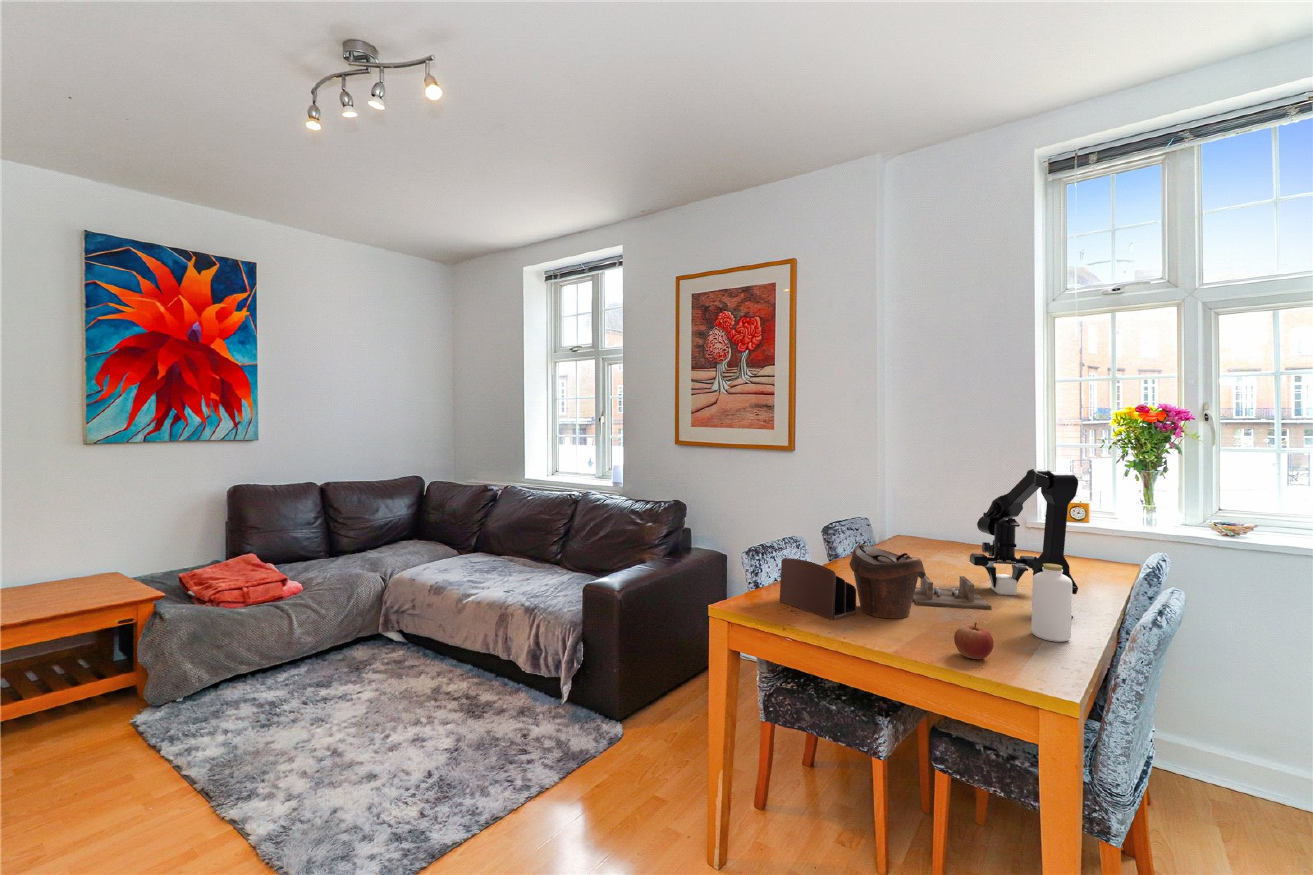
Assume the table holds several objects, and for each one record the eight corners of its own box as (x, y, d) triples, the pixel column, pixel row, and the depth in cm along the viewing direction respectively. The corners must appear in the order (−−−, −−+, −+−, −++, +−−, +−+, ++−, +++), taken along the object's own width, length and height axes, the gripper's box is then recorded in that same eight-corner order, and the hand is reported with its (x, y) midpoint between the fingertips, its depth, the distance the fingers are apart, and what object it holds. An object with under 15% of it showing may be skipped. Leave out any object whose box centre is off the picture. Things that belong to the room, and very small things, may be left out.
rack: (991, 609, 174) (991, 588, 174) (916, 604, 178) (917, 584, 178) (973, 593, 190) (974, 574, 190) (905, 589, 194) (906, 570, 193)
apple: (983, 651, 143) (984, 617, 142) (999, 665, 135) (1000, 629, 134) (948, 649, 143) (948, 616, 143) (961, 663, 135) (962, 627, 135)
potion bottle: (1033, 629, 158) (1035, 559, 157) (1072, 636, 153) (1074, 565, 152) (1028, 637, 151) (1030, 565, 151) (1068, 646, 146) (1071, 571, 146)
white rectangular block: (1016, 595, 188) (1016, 580, 188) (998, 594, 190) (999, 579, 189) (1007, 588, 196) (1008, 574, 196) (990, 587, 197) (991, 573, 197)
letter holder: (833, 621, 164) (834, 568, 163) (778, 602, 180) (779, 554, 180) (856, 614, 169) (857, 564, 169) (802, 597, 186) (802, 550, 185)
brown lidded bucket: (932, 625, 160) (932, 556, 160) (852, 620, 164) (853, 553, 164) (917, 605, 178) (917, 544, 177) (845, 601, 182) (846, 541, 181)
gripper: (1027, 535, 198) (1025, 583, 199) (964, 532, 202) (963, 579, 202) (1041, 542, 187) (1040, 592, 188) (975, 539, 191) (974, 588, 191)
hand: (1003, 588), depth 193 cm, fingers closed on white rectangular block, 5 cm apart
